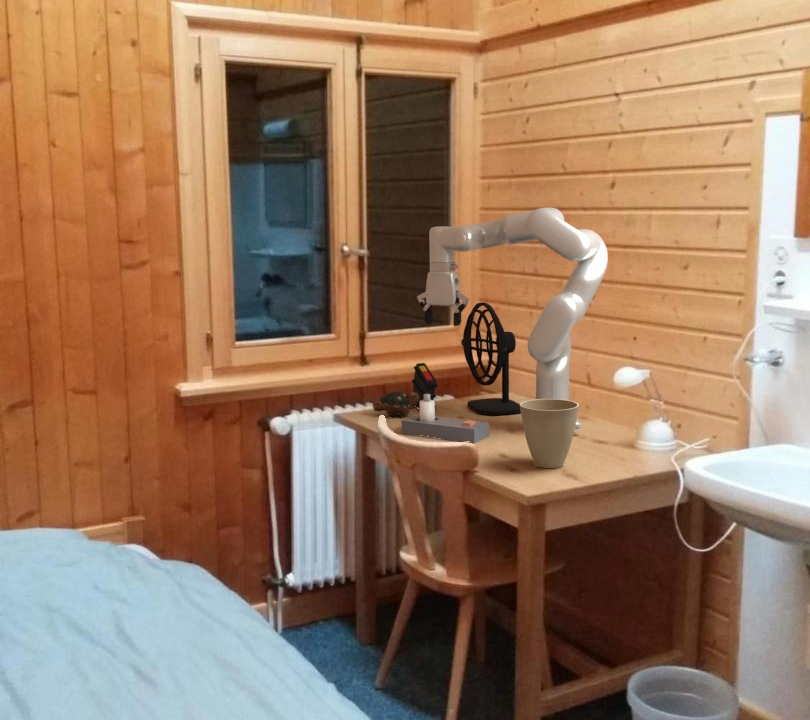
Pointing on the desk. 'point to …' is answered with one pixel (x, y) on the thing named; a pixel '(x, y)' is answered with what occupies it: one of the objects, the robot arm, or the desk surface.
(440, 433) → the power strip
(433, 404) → the white bottle
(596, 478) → the desk surface
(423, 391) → the black blocky piece
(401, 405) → the decorative turtle
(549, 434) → the plant pot
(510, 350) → the desk fan
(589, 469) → the desk surface
